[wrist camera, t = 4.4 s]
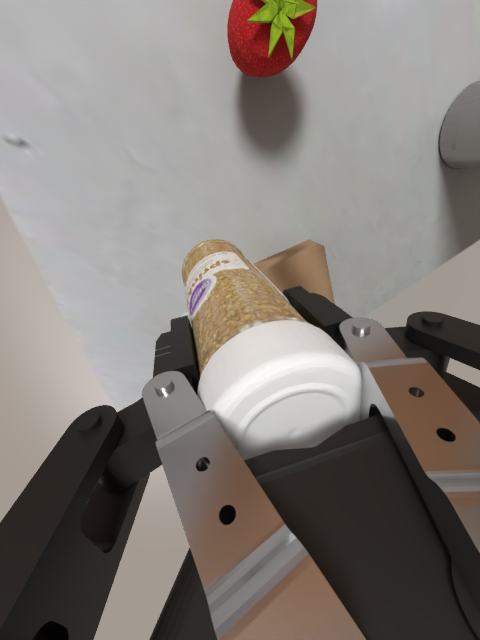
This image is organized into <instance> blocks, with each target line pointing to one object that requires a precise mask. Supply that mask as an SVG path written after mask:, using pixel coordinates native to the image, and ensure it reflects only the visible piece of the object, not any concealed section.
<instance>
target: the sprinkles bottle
mask: <svg viewBox="0 0 480 640" xmlns="http://www.w3.org/2000/svg"><path fill="white" fill-rule="evenodd" d="M182 277H183V282H184V285H185V287H186V288H185V294H186V300H187V307H188V314H189V319H190V323H191V326H192V330H193V337H194V343H195V348H196V354H197V361H198V367H199V373H200V381H199V385H198V391H197V396H198V398H199V399H200V401H201V402H202V404H203V406H204V407H205V409H206V410H207V411H209V410H210V411H211V412H212V413H213V414H214V416H215V417H216V419H217V420H218V422H219V423H220V425H221V426H222V428H223V430H224V431H225V433H226V434H227V436H228V437H229V439H230V440H231V442H232V443H233V445H234V446H235V448H236V449H237V451H238V453H239V454H240V456H241V457H242V459H243V460H247V459H250V458H253V457H256V456H259V455H261V454H264V453H267V452H270V451H274V450H286V449H298V448H310V447H315V446H317V445H319V444H320V443H322V442H323V441H324V440H326V439H327V438H329V437H330V436H332V435H333V434H334V433H336V432H337V431H339V430H340V429H341V428H343V427H344V426H346V425H349V424H352V423H355V422H358V421H359V415H360V404H361V392H362V377H361V371H360V368H359V366H358V365H357V364H356V363H355V362H354V361H353V360H352V359H351V358H350V357H349V355H348V354H347V353H346V352H345V351H344V350H343V349H342V348H341V347H340V346H339V345H338V344H337V343H336V342H335V341H334V340H333V339H332V338H331V337H330V336H329V335H328V334H327V333H325V332H324V331H323V330H321V329H320V328H318V327H315V326H313V325H312V324H310V323H308V322H307V321H306V320H305V319H303V317H302V316H301V315H300V314H299V313H298V312H297V311H296V310H295V309H294V308H293V307H292V306H291V304H290V303H289V301H288V299H287V298H286V297H285V296H284V295H283V293H282V292H281V291H280V290H279V289H278V288H277V287H276V286H275V285H274V284H273V283H272V282H271V281H270V280H269V279H268V278H267V277H266V276H265V275H264V274H263V273H262V272H261V271H260V270H259V269H258V268H257V267H256V266H255V265H253V264H252V263H251V262H250V261H249V260H247V259H245V257H244V256H243V254H242V252H241V251H240V250H239V249H238V248H237V247H236V246H235V245H233V244H232V243H230V242H228V241H224V240H219V239H217V240H207V241H204V242H201V243H200V244H198V245H197V246H195V247H194V248H193V249H192V250H191V251H190V252H189V253H188V254H187V256H186V258H185V259H184V263H183V267H182Z"/></svg>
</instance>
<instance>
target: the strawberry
mask: <svg viewBox="0 0 480 640" xmlns="http://www.w3.org/2000/svg"><path fill="white" fill-rule="evenodd" d="M316 11H317V0H233V2H232V5H231V9H230V12H229V18H228V25H227V26H228V42H229V48H230V53H231V56H232V59H233V61H234V63H235V64H236V66H237V67H238V68H239V69H240V70H241V71H242V72H243V73H245V74H246V75H249V76H252V77H268V76H272V75H275V74H277V73H280V72H281V71H283V70H284V69H286V68H287V67H288V66H289V65H291V64H292V63H293V62H294V61H295V59H296V58H297V57H298V55H299V54H300V53H301V51H302V49H303V47H304V46H305V44H306V42H307V40H308V38H309V37H310V34H311V31H312V29H313V26H314V22H315V18H316Z"/></svg>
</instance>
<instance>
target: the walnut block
mask: <svg viewBox="0 0 480 640" xmlns="http://www.w3.org/2000/svg"><path fill="white" fill-rule="evenodd" d="M253 265H255V266H256V267H257V268H258V269H259V270H260V271H261V272H262V273H263V274H264V275H265V276H266V277H267V278H268V279H269V280H270V281H271V282H272V283H273V284H274V285H275V286H276V287H277V288H278V289H279V290H280V291H281V292H282V293H283V290H285V289H288V288H292V287H296V286H301V287H303V288H304V289H305V290H306V291H308V292H309V293H316V294H319V295H322V296H324V297H326V298H327V299H328V300H330V302H332V303H334V299H333V293H332V288H331V282H330V277H329V271H328V266H327V260H326V255H325V249H324V246H323V245H321V244H318V243H316V242H313V241H311V240H307V241H305V242H302V243H300V244H298V245H296V246H293V247H291V248H289V249H287V250H284V251H282V252H280V253H278V254H275V255H273V256H271V257H269V258H266V259H264V260H262V261H260V262H257V263H255V264H253Z"/></svg>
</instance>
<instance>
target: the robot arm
mask: <svg viewBox="0 0 480 640" xmlns="http://www.w3.org/2000/svg"><path fill="white" fill-rule="evenodd" d="M440 152H441V156H442V158H443V160H444V162H445V163H446V164H447V165H448V166H450V167H452V168H479V167H480V81H478V82H475V83H473V84H471V85H470V86H469V87H467V88H466V89H465V90H464V91H463V92H462V93H461V94H460V95H459V96H458V97H457V98H456V100H455V101H454V103H453V104H452V105H451V107H450V109H449V111H448V113H447V115H446V117H445V120H444V122H443V126H442V130H441V134H440ZM283 295H284V296H285V297H286V298H287V299H288V301H289V303H290V304H291V306H292V307H293V308H294V309H295V310H296V311H297V312H298V313H299V314H300V315H301V316H302V317H303V319H305V320H306V321H307V322H308V323H310V324H312V325H313V326H315V327H318V328H320V329H321V330H323V331H324V332H325V333H327V334H328V335H329V336H330V337H331V338H332V339H333V340H334V341H335V342H336V343H337V344H338V345H339V346H340V347H341V348H342V349H343V350H344V351H345V352H346V353H347V354H348V355H349V357H350V358H351V359H352V360H353V361H354V362H355V363H356V364H357V365H358V366H359V368H360V371H361V377H362V392H361V404H360V415H359V421H358V422H355V423H352V424H349V425H346V426H344V427H343V428H341V429H340V430H339V431H337V432H336V433H334V434H333V435H332V436H330V437H329V438H327V439H326V440H324V441H323V442H322V443H320V444H319V445H317V446H315V447H310V448H298V449H286V450H274V451H270V452H267V453H264V454H261V455H259V456H256V457H253V458H250V459H247V460H243V459H242V457H241V456H240V454H239V453H238V451H237V449H236V448H235V446H234V445H233V443H232V442H231V440H230V439H229V437H228V436H227V434H226V433H225V431H224V430H223V428H222V426H221V425H220V423H219V422H218V420H217V419H216V417H215V416H214V414H213V413H212V412H211V411H210V410H209V411H207V410H206V409H205V407H204V406H203V404H202V402H201V401H200V399H199V398H198V396H197V391H198V385H199V381H200V373H199V367H198V361H197V354H196V348H195V343H194V337H193V330H192V326H191V323H190V320H189V317H188V315H187V316H183V317H179V318H175V319H172V320H171V331H170V332H166V333H163V334H161V335H160V337H159V338H158V340H157V341H156V351H155V361H154V372H153V378H152V379H151V380H150V381H149V382H148V383H147V384H146V385H145V386H144V388H143V391H142V398H141V399H140V400H138V401H137V402H135V403H134V404H132V405H130V406H128V407H126V408H125V409H123V410H121V411H119V412H116V410H115V409H114V408H113V407H111V406H108V405H102V406H98V407H94V408H92V409H90V410H88V411H86V412H85V413H83V414H81V415H80V416H79V417H78V418H76V419H75V420H74V421H73V423H71V425H70V426H69V427H68V429H67V430H66V431H65V433H64V434H63V436H62V437H61V438H60V440H59V441H58V443H57V444H56V446H55V447H54V448H53V450H52V451H51V452H50V454H49V455H48V457H47V458H46V460H45V461H44V462H43V464H42V465H41V466H40V468H39V469H38V471H37V472H36V474H35V475H34V476H33V478H32V479H31V480H30V482H29V483H28V485H27V486H26V488H25V489H24V491H23V492H22V493H21V495H20V496H19V497H18V499H17V500H16V501H15V503H14V504H13V506H12V507H11V509H10V510H9V511H8V513H7V514H6V515H5V517H4V518H3V520H2V521H1V523H0V640H93V639H94V636H95V633H96V631H97V628H98V625H99V622H100V619H101V616H102V613H103V610H104V607H105V604H106V601H107V598H108V595H109V592H110V590H111V587H112V584H113V581H114V578H115V575H116V572H117V569H118V566H119V563H120V560H121V558H122V554H123V552H124V549H125V546H126V543H127V540H128V537H129V534H130V531H131V528H132V525H133V523H134V520H135V516H136V513H137V511H138V508H139V504H140V502H141V499H142V496H143V493H144V490H145V487H146V484H147V482H148V479H149V475H150V472H152V471H153V470H155V469H156V468H158V467H159V466H160V465H163V468H164V471H165V474H166V477H167V480H168V483H169V486H170V489H171V492H172V495H173V498H174V501H175V504H176V507H177V510H178V513H179V516H180V519H181V522H182V525H183V528H184V531H185V534H186V537H187V540H188V543H189V546H190V548H189V550H188V553H187V555H186V557H185V559H184V562H183V564H182V566H181V569H180V571H179V573H178V575H177V578H176V580H175V582H174V585H173V587H172V589H171V591H170V594H169V596H168V598H167V601H166V603H165V605H164V608H163V610H162V612H161V614H160V617H159V619H158V621H157V624H156V626H155V628H154V630H153V633H152V635H151V637H150V640H480V388H479V387H477V386H475V385H473V384H471V383H469V382H467V381H465V380H462V379H460V378H458V377H456V376H454V375H452V374H449V373H447V372H446V370H447V366H448V363H449V359H450V358H452V359H454V360H457V361H459V362H461V363H464V364H466V365H469V366H471V367H473V368H476V369H478V370H480V325H478V324H474V323H471V322H468V321H465V320H461V319H458V318H455V317H452V316H448V315H445V314H442V313H437V312H417V313H413V314H412V315H410V316H409V317H408V319H407V324H406V327H394V328H384V327H383V326H382V325H381V324H380V323H379V322H377V321H375V320H373V319H369V318H362V317H356V318H352V317H351V316H350V315H348V314H347V313H346V312H344V311H343V310H342V309H340V308H339V307H338V306H336V305H335V304H334V303H332V302H330V300H328V299H327V298H326V297H324V296H322V295H319V294H316V293H309V292H308V291H306V290H305V289H304V288H303V287H301V286H296V287H292V288H288V289H285V290H283Z"/></svg>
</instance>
